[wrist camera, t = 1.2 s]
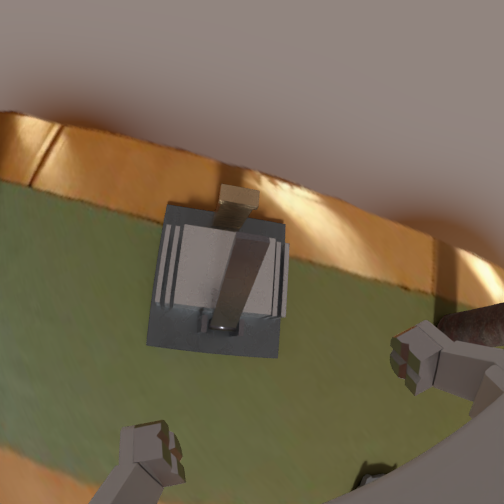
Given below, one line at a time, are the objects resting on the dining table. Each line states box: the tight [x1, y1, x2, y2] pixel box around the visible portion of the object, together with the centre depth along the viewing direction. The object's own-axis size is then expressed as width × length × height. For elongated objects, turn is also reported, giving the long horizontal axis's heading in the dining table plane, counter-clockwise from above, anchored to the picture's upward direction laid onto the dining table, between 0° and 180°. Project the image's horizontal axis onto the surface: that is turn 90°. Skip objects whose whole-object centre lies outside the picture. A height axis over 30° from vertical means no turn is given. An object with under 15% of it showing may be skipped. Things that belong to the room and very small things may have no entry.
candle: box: [437, 303, 504, 347], centre depth 44 cm, size 8×7×20 cm
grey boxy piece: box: [146, 184, 289, 358], centre depth 41 cm, size 18×20×10 cm
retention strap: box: [208, 232, 270, 332], centre depth 33 cm, size 15×3×1 cm
